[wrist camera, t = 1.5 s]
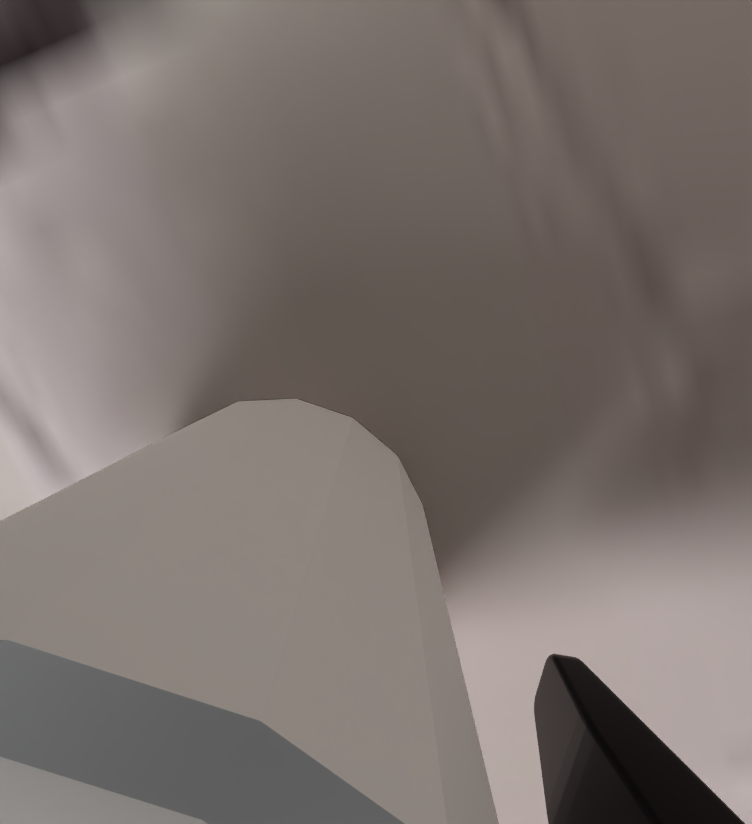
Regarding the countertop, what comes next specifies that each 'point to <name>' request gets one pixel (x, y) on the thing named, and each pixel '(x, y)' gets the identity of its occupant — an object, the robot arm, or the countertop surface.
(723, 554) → the countertop surface
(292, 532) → the white canister
